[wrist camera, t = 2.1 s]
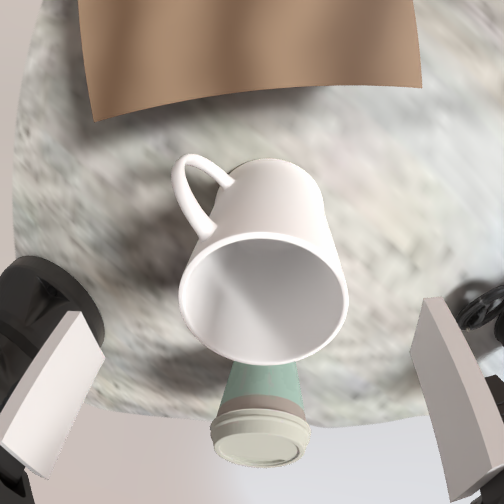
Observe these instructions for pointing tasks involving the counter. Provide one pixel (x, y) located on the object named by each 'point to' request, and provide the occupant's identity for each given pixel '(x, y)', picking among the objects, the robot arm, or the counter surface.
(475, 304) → the milk frother
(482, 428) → the robot arm
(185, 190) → the mug
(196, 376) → the counter surface
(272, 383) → the coffee cup
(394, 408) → the counter surface
